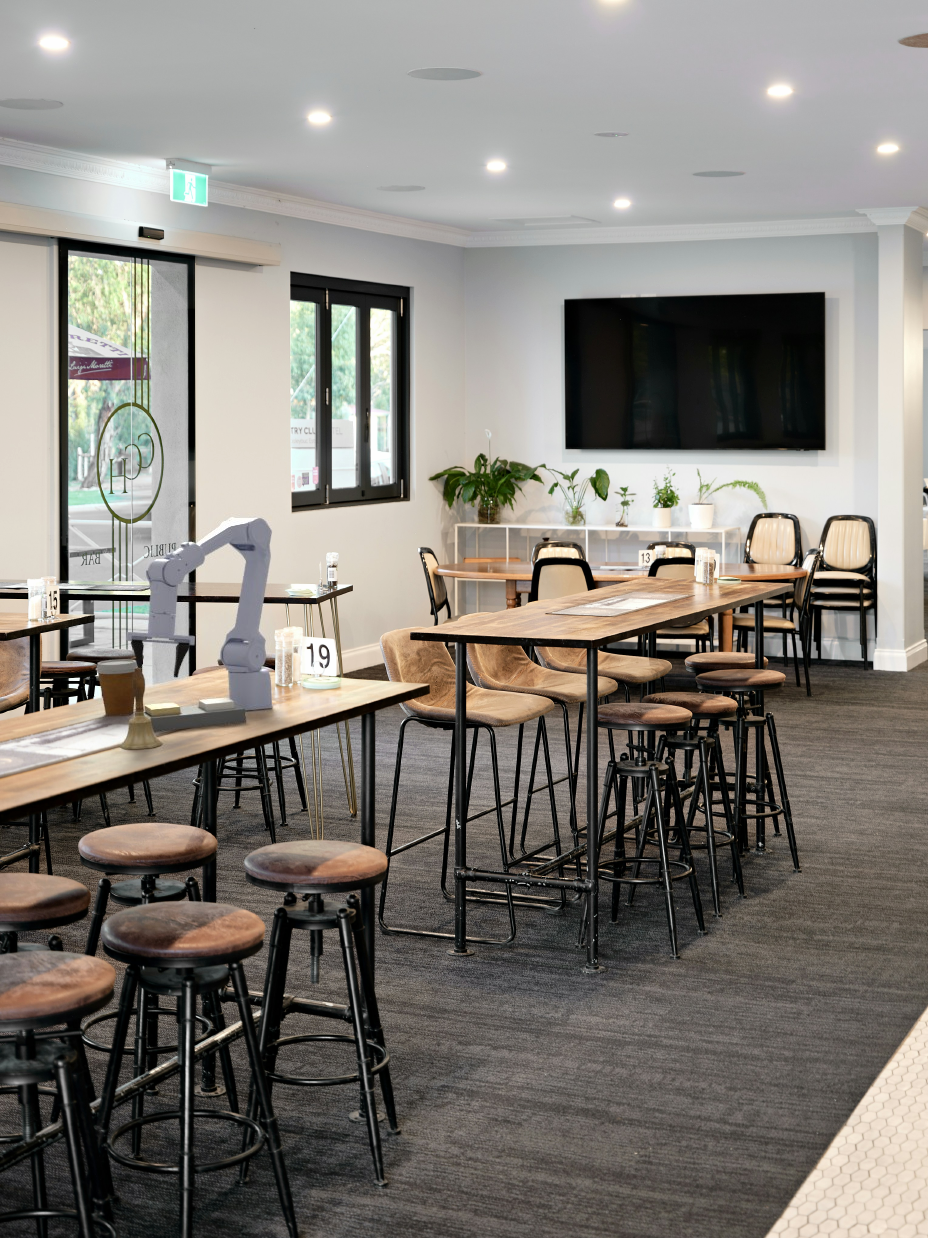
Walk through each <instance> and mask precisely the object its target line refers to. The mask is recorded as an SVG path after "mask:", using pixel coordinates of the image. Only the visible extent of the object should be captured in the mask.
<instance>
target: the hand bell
mask: <svg viewBox="0 0 928 1238" xmlns="http://www.w3.org/2000/svg"><path fill="white" fill-rule="evenodd" d="M132 688H133V693H134V695H135V699H134V710H135V711H136V712H135V713H134V717H133V718H130V719H129V721H128V729H127V735H126V737H125V739H124V740H123V741H122V743H121V744H120V748H121V749H124V750H143V749H153V748H157V747H161V746H162V745H163V742H162V741H161V740H160V739H159V738H158V736H157V735H156V733H155V732H154V731H153V727H152V723H151V719H150V718H147V717H145V716H144V710H145V705H144V695H145V691H146V679H145V676H144V673H143V669H142V670H141V668H135V671H134V675H133V679H132Z"/></svg>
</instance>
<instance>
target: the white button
mask: <svg viewBox="0 0 928 1238" xmlns="http://www.w3.org/2000/svg"><path fill="white" fill-rule="evenodd" d="M198 705H199V708H200V709H202V710H204V711H213V710H223V709H233V708H234V701H232V700H230V699H229V697H226V696H225V697H216V698H208V699H207V698H205V699H198Z"/></svg>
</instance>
